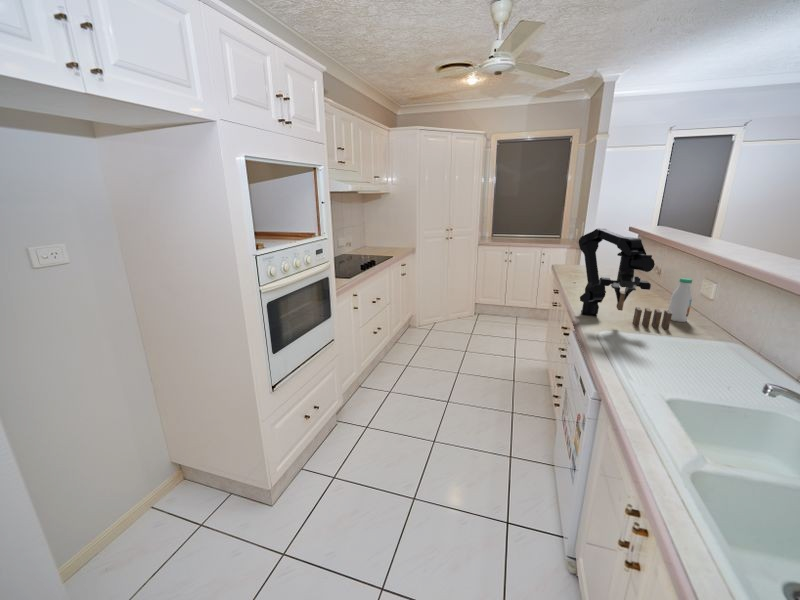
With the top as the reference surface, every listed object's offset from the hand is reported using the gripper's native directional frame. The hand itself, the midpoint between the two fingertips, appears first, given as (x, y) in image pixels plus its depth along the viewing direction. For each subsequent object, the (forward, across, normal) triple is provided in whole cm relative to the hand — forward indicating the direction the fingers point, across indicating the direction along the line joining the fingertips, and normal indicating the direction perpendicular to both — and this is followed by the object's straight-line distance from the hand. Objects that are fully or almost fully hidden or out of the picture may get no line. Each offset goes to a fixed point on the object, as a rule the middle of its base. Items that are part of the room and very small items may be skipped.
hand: (620, 302), depth 156 cm
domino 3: (+11, +12, +6) cm, 18 cm away
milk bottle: (+11, +28, +22) cm, 37 cm away
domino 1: (+3, 0, 0) cm, 3 cm away
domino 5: (+11, +20, +6) cm, 23 cm away
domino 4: (+11, +16, +6) cm, 20 cm away
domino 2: (+11, +9, +6) cm, 15 cm away
